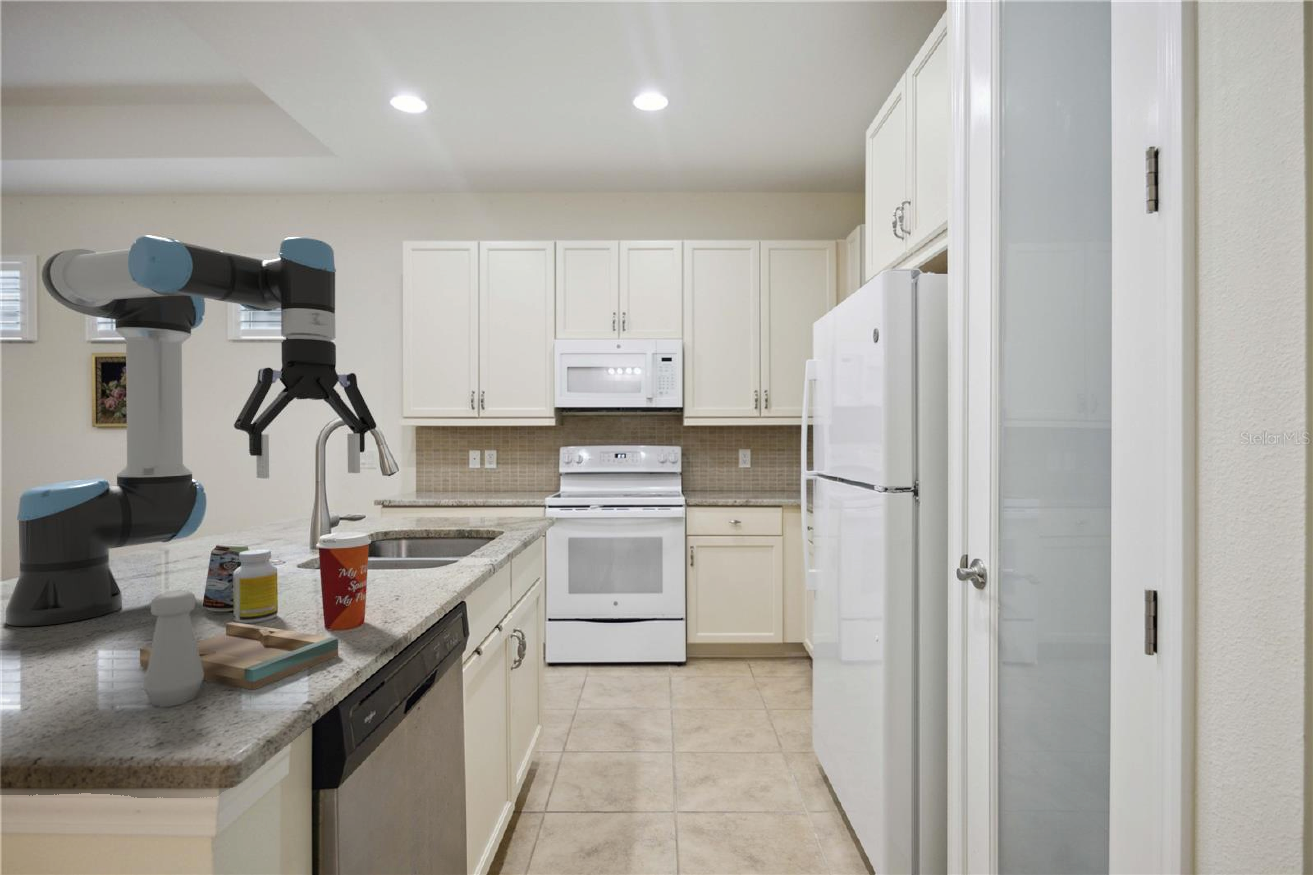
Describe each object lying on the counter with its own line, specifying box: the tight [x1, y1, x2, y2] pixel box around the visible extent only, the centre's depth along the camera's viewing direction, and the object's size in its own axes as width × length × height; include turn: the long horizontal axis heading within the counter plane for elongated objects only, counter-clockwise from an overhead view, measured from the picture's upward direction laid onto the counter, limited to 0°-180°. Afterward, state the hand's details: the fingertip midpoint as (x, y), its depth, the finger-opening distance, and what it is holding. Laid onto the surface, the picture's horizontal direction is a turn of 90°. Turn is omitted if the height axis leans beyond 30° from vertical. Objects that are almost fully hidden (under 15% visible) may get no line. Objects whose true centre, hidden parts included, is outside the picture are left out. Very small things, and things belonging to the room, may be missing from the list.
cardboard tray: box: [139, 621, 339, 691], centre depth 91 cm, size 22×13×2 cm, turn 69°
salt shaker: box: [143, 590, 204, 708], centre depth 78 cm, size 6×6×13 cm
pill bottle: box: [233, 548, 279, 624], centre depth 111 cm, size 6×6×12 cm
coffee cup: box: [315, 531, 372, 631], centre depth 107 cm, size 8×8×15 cm
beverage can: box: [202, 543, 250, 612], centre depth 116 cm, size 6×7×12 cm
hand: (310, 475), depth 101 cm, fingers open, 13 cm apart
